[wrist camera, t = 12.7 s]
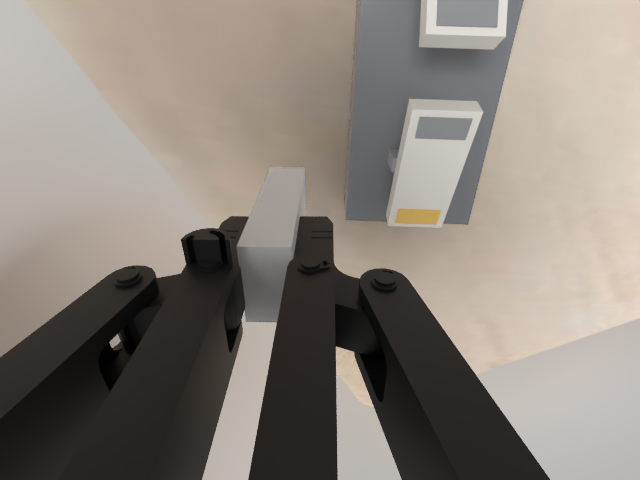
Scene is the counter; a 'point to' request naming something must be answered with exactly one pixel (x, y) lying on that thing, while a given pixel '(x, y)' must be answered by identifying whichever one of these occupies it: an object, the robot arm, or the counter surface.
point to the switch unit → (412, 83)
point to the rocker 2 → (431, 160)
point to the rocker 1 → (462, 23)
